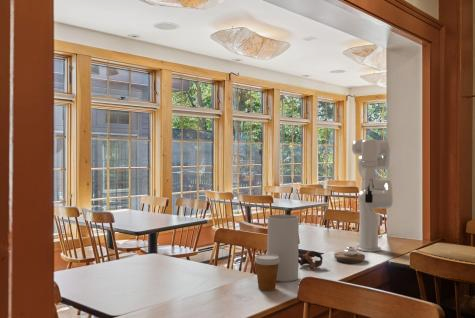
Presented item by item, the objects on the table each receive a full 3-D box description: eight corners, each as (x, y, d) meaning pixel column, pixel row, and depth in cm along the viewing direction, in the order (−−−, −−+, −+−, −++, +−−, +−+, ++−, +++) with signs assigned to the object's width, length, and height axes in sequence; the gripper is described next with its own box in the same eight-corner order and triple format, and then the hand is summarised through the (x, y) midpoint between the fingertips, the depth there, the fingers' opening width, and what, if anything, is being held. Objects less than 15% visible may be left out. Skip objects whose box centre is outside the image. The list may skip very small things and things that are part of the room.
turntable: (332, 256, 227) (332, 250, 227) (361, 257, 226) (361, 251, 226) (336, 263, 213) (336, 257, 213) (367, 264, 212) (367, 258, 212)
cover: (342, 253, 222) (342, 245, 222) (355, 254, 221) (355, 246, 221) (344, 256, 216) (344, 248, 216) (357, 256, 215) (357, 248, 215)
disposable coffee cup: (272, 293, 166) (272, 260, 166) (249, 289, 171) (249, 257, 171) (283, 287, 174) (284, 255, 174) (261, 283, 179) (262, 252, 179)
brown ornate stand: (316, 265, 212) (323, 251, 208) (319, 279, 204) (325, 265, 200) (291, 258, 211) (297, 244, 207) (293, 272, 203) (299, 258, 199)
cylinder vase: (296, 283, 180) (297, 219, 180) (265, 281, 182) (265, 218, 182) (299, 275, 192) (299, 215, 192) (269, 273, 195) (269, 214, 194)
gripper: (358, 164, 233) (358, 200, 233) (364, 165, 218) (363, 204, 218) (373, 164, 232) (373, 201, 232) (380, 165, 217) (380, 204, 217)
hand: (368, 202), depth 225 cm, fingers closed
